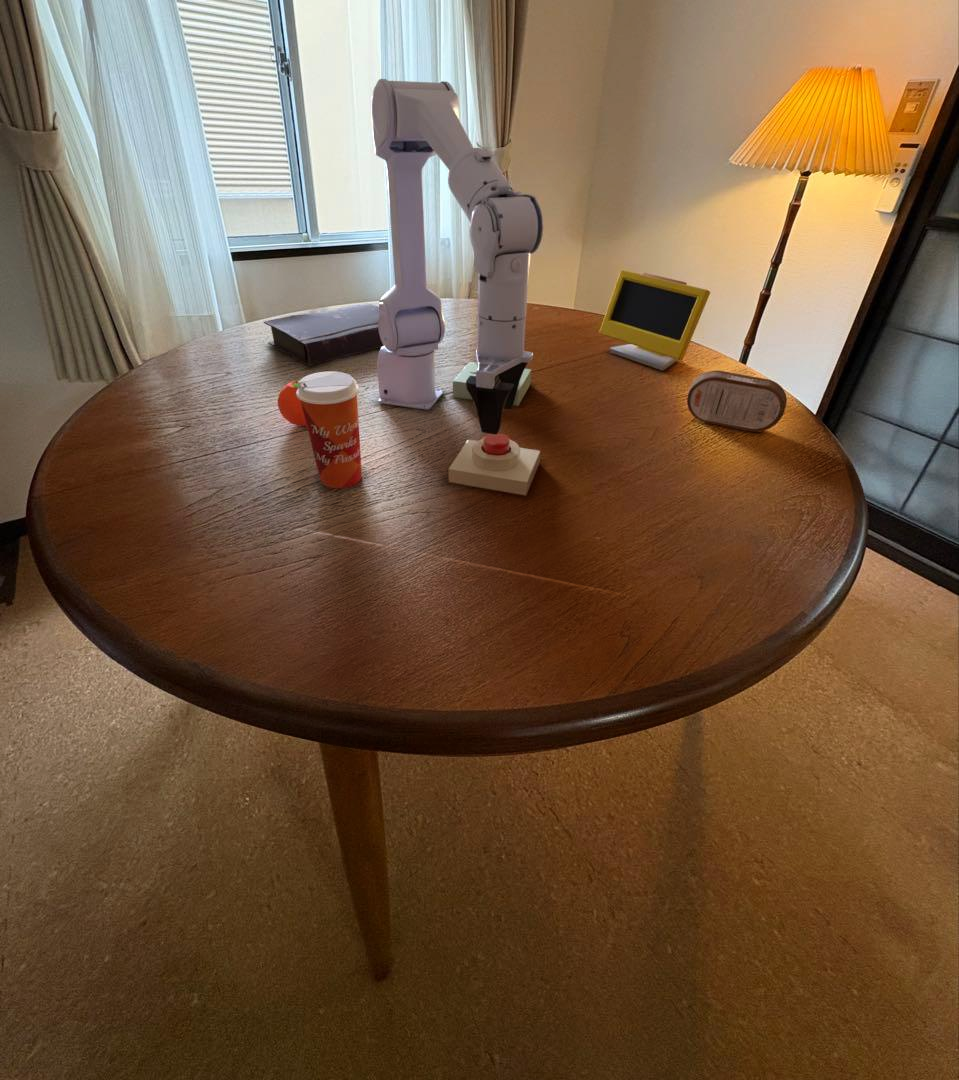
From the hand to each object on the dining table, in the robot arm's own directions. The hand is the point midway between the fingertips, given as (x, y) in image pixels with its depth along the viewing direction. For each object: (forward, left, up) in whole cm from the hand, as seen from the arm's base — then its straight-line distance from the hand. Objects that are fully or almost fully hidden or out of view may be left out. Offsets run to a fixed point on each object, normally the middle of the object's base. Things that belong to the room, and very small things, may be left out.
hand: (497, 419), depth 75 cm
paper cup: (-20, -8, -8) cm, 23 cm away
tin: (+33, +27, -8) cm, 43 cm away
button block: (0, 0, -8) cm, 8 cm away
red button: (0, 0, -5) cm, 5 cm away
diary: (-46, +42, -8) cm, 63 cm away
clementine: (-33, +5, -8) cm, 34 cm away
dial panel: (-8, +28, -8) cm, 30 cm away
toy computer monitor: (+18, +55, -8) cm, 58 cm away
